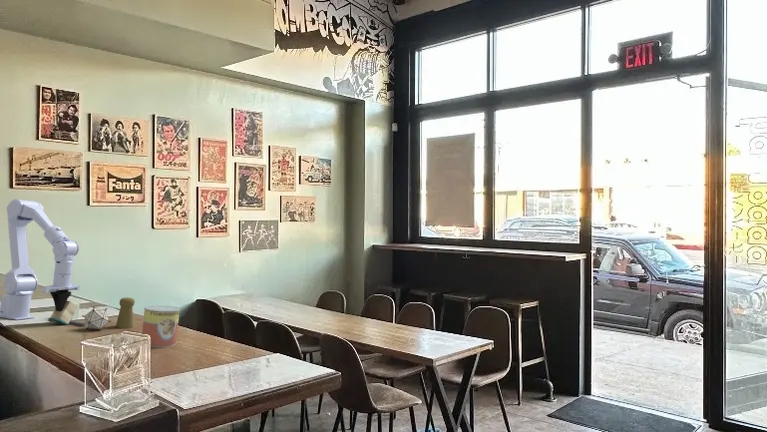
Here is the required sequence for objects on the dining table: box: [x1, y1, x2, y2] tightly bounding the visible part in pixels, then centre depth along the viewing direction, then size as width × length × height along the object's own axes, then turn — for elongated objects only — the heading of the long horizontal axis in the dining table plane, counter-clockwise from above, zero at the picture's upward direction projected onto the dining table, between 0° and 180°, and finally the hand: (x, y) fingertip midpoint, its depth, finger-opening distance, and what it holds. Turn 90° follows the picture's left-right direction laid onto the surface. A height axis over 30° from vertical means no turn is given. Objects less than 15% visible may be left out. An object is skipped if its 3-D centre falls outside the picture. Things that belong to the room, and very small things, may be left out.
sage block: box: [70, 301, 81, 321], centre depth 218 cm, size 4×4×6 cm
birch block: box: [49, 300, 78, 326], centre depth 207 cm, size 4×4×8 cm
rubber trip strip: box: [47, 317, 86, 327], centre depth 208 cm, size 16×1×1 cm, turn 74°
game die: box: [81, 306, 112, 332], centre depth 202 cm, size 9×8×10 cm
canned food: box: [141, 305, 181, 348], centre depth 190 cm, size 11×11×12 cm
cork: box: [115, 297, 136, 329], centre depth 212 cm, size 6×6×11 cm
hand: (58, 311), depth 204 cm, fingers closed
